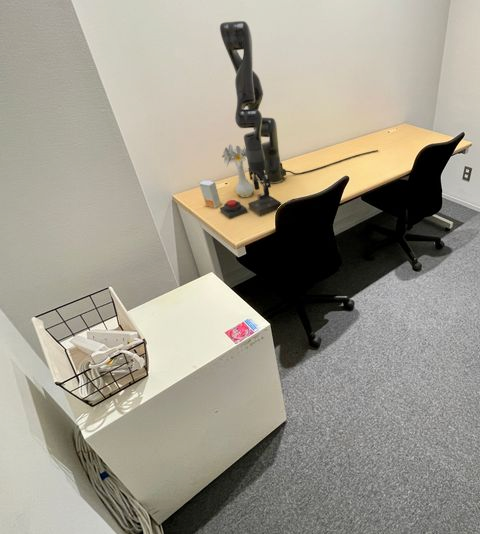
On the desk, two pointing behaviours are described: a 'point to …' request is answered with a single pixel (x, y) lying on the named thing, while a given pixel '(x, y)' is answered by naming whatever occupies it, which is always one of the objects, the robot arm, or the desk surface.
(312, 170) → the robot arm
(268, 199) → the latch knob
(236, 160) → the flower vase
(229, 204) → the button
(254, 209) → the rotary lever switch
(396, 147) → the desk surface
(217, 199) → the cosmetic box
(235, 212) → the button box
